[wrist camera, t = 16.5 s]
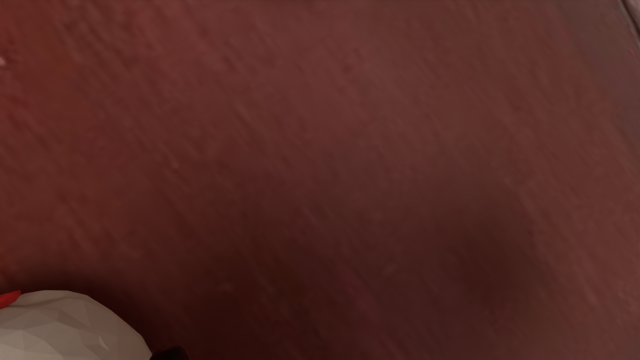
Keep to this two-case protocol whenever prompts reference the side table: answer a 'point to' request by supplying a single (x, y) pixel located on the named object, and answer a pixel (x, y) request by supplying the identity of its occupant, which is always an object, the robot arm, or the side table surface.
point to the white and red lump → (64, 329)
